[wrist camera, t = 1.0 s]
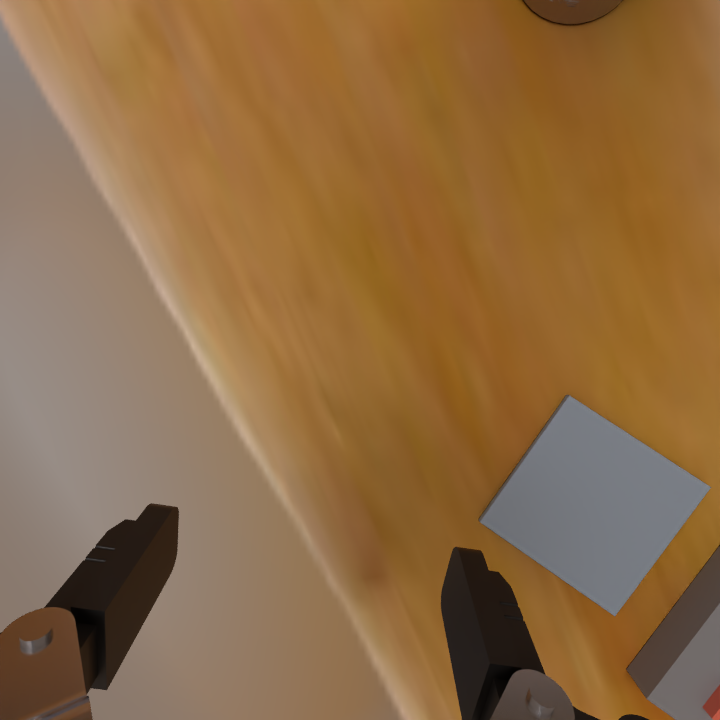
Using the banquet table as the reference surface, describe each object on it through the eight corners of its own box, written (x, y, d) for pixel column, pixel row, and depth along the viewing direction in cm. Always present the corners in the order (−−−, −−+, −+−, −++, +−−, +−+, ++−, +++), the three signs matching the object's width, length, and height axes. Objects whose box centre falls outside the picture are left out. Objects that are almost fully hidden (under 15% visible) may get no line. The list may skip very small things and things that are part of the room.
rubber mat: (566, 394, 35) (569, 395, 34) (705, 485, 33) (710, 487, 33) (478, 519, 35) (479, 522, 35) (611, 611, 34) (615, 616, 34)
